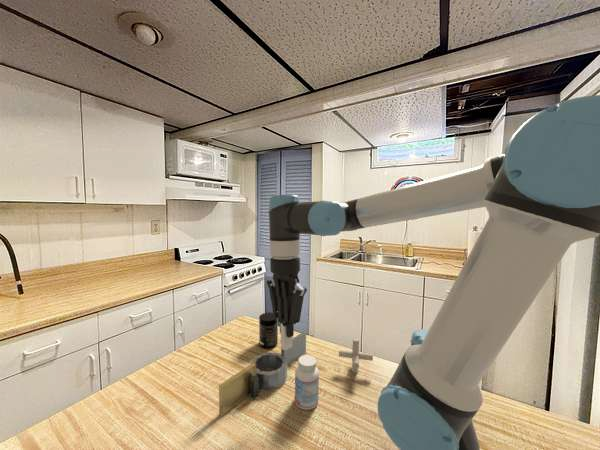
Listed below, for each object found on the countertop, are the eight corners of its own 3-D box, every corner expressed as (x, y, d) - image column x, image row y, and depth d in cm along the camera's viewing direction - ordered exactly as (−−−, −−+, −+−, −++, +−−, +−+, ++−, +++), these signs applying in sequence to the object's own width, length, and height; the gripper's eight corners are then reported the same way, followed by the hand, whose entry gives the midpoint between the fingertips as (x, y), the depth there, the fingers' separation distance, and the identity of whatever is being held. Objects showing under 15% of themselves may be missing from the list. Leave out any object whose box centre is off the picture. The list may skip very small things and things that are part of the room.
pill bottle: (293, 393, 67) (294, 353, 66) (316, 392, 67) (317, 352, 66) (295, 412, 61) (296, 368, 60) (320, 410, 61) (321, 367, 60)
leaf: (256, 388, 68) (256, 364, 67) (222, 415, 59) (222, 387, 59) (253, 386, 69) (253, 362, 68) (219, 413, 60) (218, 385, 59)
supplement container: (281, 343, 91) (281, 316, 90) (267, 352, 86) (267, 322, 85) (269, 337, 95) (269, 311, 94) (255, 344, 90) (255, 316, 89)
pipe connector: (373, 385, 70) (374, 351, 69) (337, 379, 72) (338, 346, 71) (370, 363, 80) (371, 333, 79) (339, 359, 82) (340, 329, 81)
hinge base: (316, 357, 82) (316, 337, 82) (259, 403, 63) (259, 377, 63) (293, 346, 89) (293, 327, 88) (234, 384, 70) (234, 360, 69)
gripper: (314, 257, 61) (315, 351, 62) (280, 252, 70) (281, 333, 71) (291, 262, 55) (293, 364, 57) (257, 255, 65) (260, 343, 66)
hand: (286, 347), depth 64 cm, fingers closed
